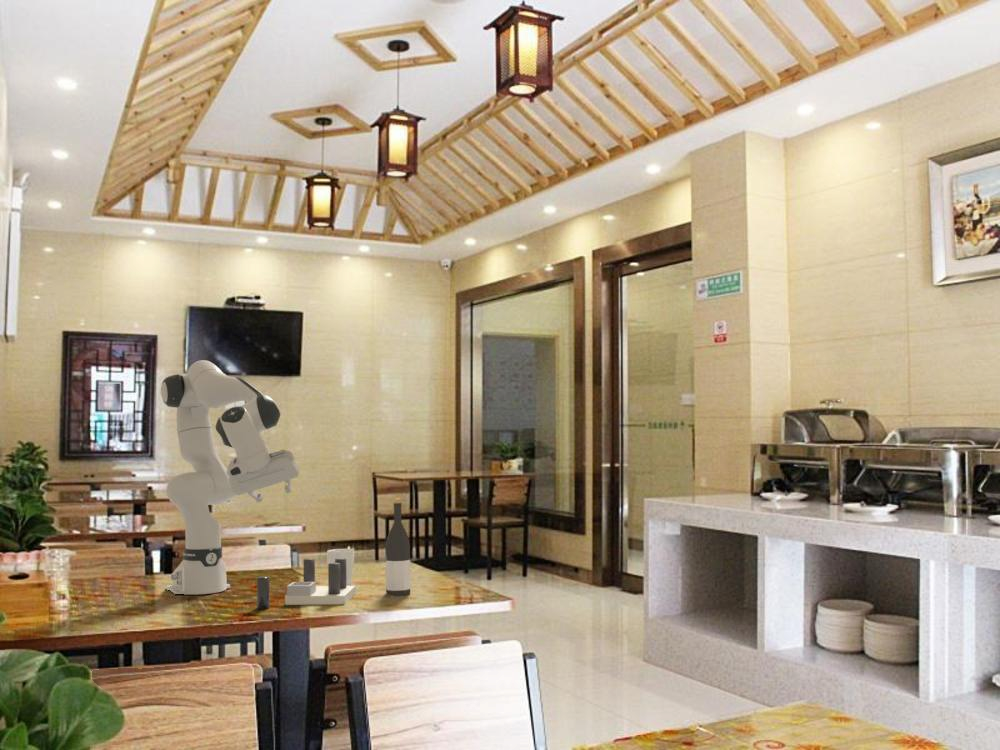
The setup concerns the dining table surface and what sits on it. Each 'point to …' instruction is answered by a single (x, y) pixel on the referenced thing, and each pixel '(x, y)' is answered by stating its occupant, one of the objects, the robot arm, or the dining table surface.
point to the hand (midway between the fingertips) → (274, 496)
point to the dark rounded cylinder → (263, 592)
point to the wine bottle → (397, 556)
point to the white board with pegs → (321, 594)
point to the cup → (349, 557)
